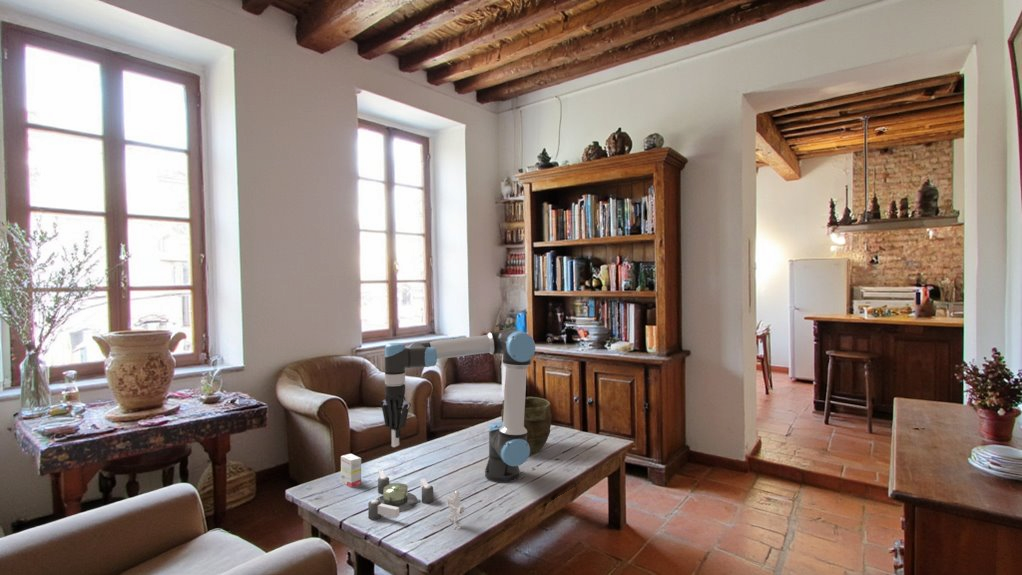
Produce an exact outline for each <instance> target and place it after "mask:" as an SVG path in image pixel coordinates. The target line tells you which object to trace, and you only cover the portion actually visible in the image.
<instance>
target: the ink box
mask: <svg viewBox="0 0 1022 575" xmlns="http://www.w3.org/2000/svg"><path fill="white" fill-rule="evenodd" d="M340 485H345V486H347V487H349V488H352V489H353V488H355V487H358V486H361V485H362V458H361V457H360V456H357V455H355V454H353V453H347V454H343V455H341V456H340Z"/></svg>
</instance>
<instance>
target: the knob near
mask: <svg viewBox="0 0 1022 575" xmlns="http://www.w3.org/2000/svg"><path fill="white" fill-rule="evenodd" d="M419 482H420V489H421V503H422V504H426V505H427V504H431V503H433V502H434V486H433V485H430V484H429V483H428V481H427V479H426V478H425V477H423V478H420V481H419Z"/></svg>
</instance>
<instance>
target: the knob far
mask: <svg viewBox="0 0 1022 575" xmlns="http://www.w3.org/2000/svg"><path fill="white" fill-rule="evenodd" d="M387 485H390V477H388V476H386V475H385V472H384V470H383V469H382V470H378V479H377V493H378V494H380V495H383V489H384V487H385V486H387Z"/></svg>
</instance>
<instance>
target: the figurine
mask: <svg viewBox="0 0 1022 575" xmlns="http://www.w3.org/2000/svg"><path fill="white" fill-rule="evenodd" d="M445 505H447V506H448V508H449V511H450V512H451V513H450V514H448V516H445V519H446V521H447V522H451V518H452V517H453V526H455V527H454V529H453V530H459V529H461V525H460V524H457V521H458V516H459V515H458V513H459V514H460V515H461V516H463V515H465V511H466V507H465V506H461V507H459V506H460V505H461V498H460V491H457V490H456V491H455V492H454V496H453V497H452V496H451V495H447V498H446V502H445ZM457 512H458V513H457Z"/></svg>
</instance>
